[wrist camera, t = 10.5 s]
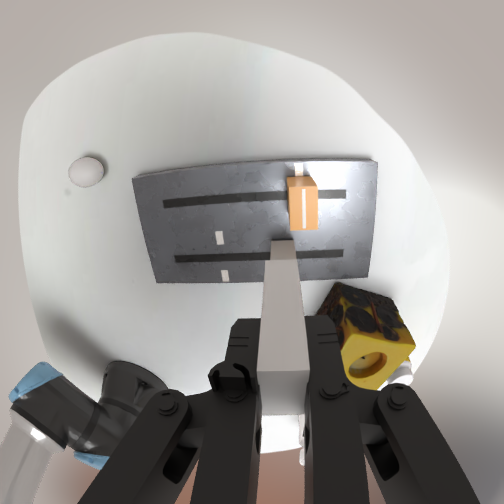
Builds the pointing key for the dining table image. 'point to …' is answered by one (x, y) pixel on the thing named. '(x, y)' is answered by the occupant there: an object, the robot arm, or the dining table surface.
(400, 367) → the supplement bottle
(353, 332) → the candle
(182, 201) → the console
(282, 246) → the fader
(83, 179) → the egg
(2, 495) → the robot arm
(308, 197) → the fader
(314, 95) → the dining table surface
